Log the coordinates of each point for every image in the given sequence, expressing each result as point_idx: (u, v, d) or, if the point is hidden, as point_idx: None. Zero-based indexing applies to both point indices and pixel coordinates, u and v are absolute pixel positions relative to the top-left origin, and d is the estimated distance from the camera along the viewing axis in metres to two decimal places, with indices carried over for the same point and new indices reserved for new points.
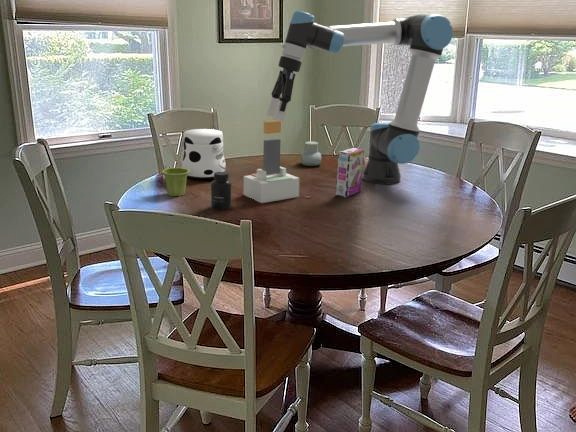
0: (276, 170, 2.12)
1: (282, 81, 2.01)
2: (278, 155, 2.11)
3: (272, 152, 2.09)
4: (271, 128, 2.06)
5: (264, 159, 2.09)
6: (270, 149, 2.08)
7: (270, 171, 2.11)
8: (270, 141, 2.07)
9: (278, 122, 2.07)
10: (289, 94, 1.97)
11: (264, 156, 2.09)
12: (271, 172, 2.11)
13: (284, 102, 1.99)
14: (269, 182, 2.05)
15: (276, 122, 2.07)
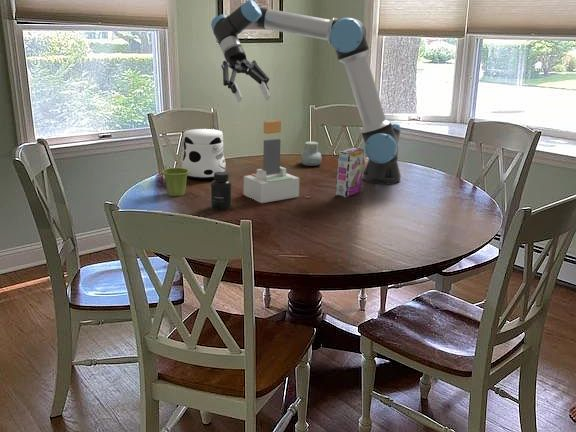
0: (276, 170, 2.12)
1: None
2: (278, 155, 2.11)
3: (272, 152, 2.09)
4: (271, 128, 2.06)
5: (264, 159, 2.09)
6: (270, 149, 2.08)
7: (270, 171, 2.11)
8: (270, 141, 2.07)
9: (278, 122, 2.07)
10: (224, 78, 2.12)
11: (264, 156, 2.09)
12: (271, 172, 2.11)
13: (229, 85, 2.12)
14: (269, 182, 2.05)
15: (276, 122, 2.07)
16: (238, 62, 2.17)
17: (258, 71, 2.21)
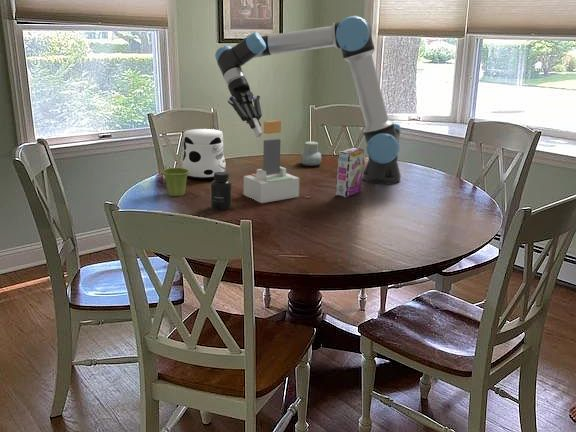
0: (276, 170, 2.12)
1: None
2: (278, 155, 2.11)
3: (272, 152, 2.09)
4: (271, 128, 2.06)
5: (264, 159, 2.09)
6: (270, 149, 2.08)
7: (270, 171, 2.11)
8: (270, 141, 2.07)
9: (278, 122, 2.07)
10: (241, 114, 2.14)
11: (264, 156, 2.09)
12: (271, 172, 2.11)
13: (248, 121, 2.15)
14: (269, 182, 2.05)
15: (276, 122, 2.07)
16: (242, 94, 2.17)
17: (256, 105, 2.20)
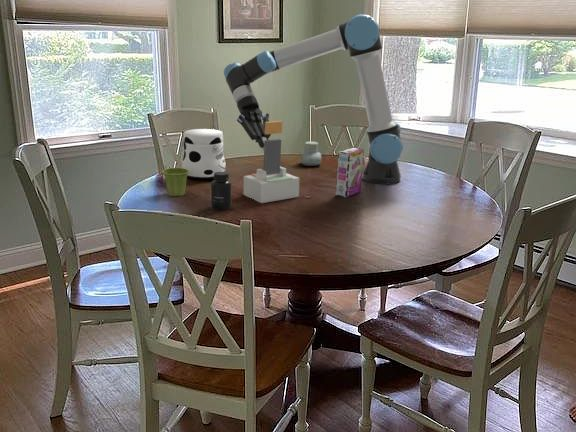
0: (276, 170, 2.12)
1: (248, 125, 2.16)
2: (278, 155, 2.11)
3: (273, 152, 2.09)
4: (272, 129, 2.05)
5: (264, 159, 2.09)
6: (271, 149, 2.08)
7: (270, 171, 2.11)
8: (271, 141, 2.07)
9: (279, 123, 2.06)
10: (250, 133, 2.12)
11: (264, 156, 2.08)
12: (271, 172, 2.11)
13: (257, 140, 2.13)
14: (269, 182, 2.05)
15: (277, 123, 2.06)
16: (251, 112, 2.15)
17: None
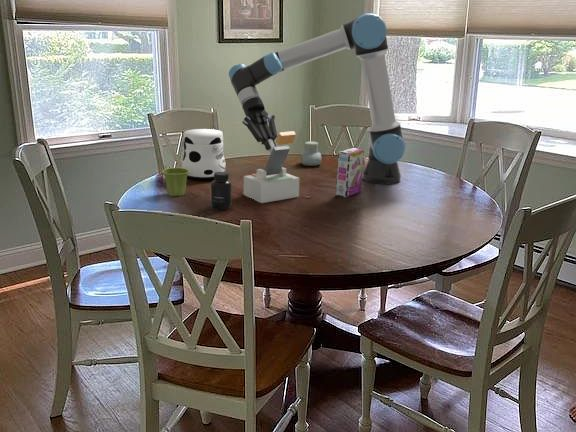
0: (277, 172, 2.12)
1: (254, 127, 2.13)
2: (283, 160, 2.09)
3: (278, 158, 2.07)
4: (284, 140, 2.00)
5: (268, 163, 2.07)
6: (277, 156, 2.05)
7: (270, 173, 2.11)
8: (279, 150, 2.03)
9: (293, 135, 2.01)
10: (256, 135, 2.09)
11: (269, 160, 2.06)
12: (271, 173, 2.11)
13: (263, 142, 2.09)
14: (269, 182, 2.05)
15: (291, 135, 2.00)
16: (257, 114, 2.12)
17: (271, 126, 2.14)
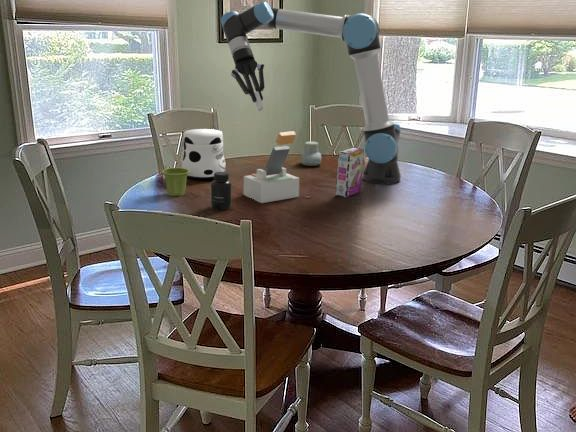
0: (277, 172, 2.12)
1: None
2: (283, 160, 2.09)
3: (278, 158, 2.07)
4: (284, 140, 2.00)
5: (268, 163, 2.07)
6: (277, 156, 2.05)
7: (270, 173, 2.11)
8: (279, 150, 2.03)
9: (293, 135, 2.01)
10: (243, 88, 2.18)
11: (269, 160, 2.06)
12: (271, 173, 2.11)
13: (250, 94, 2.18)
14: (269, 182, 2.05)
15: (291, 135, 2.00)
16: (245, 66, 2.18)
17: (260, 76, 2.20)
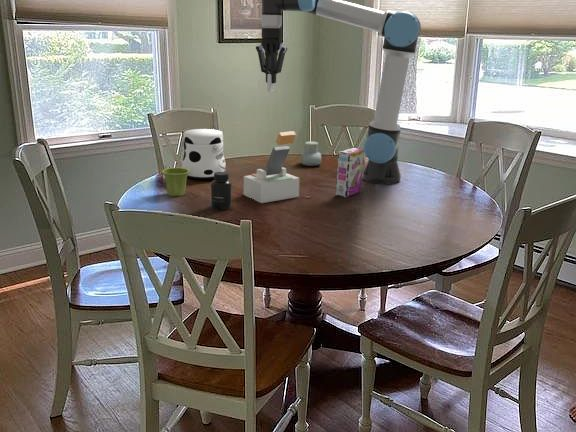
0: (277, 172, 2.12)
1: None
2: (283, 160, 2.09)
3: (278, 158, 2.07)
4: (284, 140, 2.00)
5: (268, 163, 2.07)
6: (277, 156, 2.05)
7: (270, 173, 2.11)
8: (279, 150, 2.03)
9: (293, 135, 2.01)
10: None
11: (269, 160, 2.06)
12: (271, 173, 2.11)
13: None
14: (269, 182, 2.05)
15: (291, 135, 2.00)
16: (266, 46, 2.22)
17: None
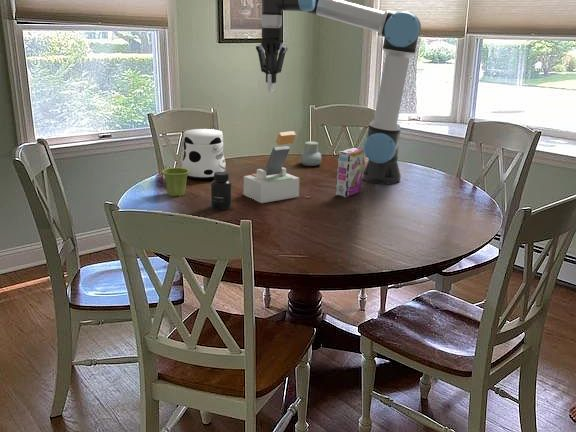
0: (277, 172, 2.12)
1: None
2: (283, 160, 2.09)
3: (278, 158, 2.07)
4: (284, 140, 2.00)
5: (268, 163, 2.07)
6: (277, 156, 2.05)
7: (270, 173, 2.11)
8: (279, 150, 2.03)
9: (293, 135, 2.01)
10: None
11: (269, 160, 2.06)
12: (271, 173, 2.11)
13: None
14: (269, 182, 2.05)
15: (291, 135, 2.00)
16: (266, 46, 2.22)
17: None
